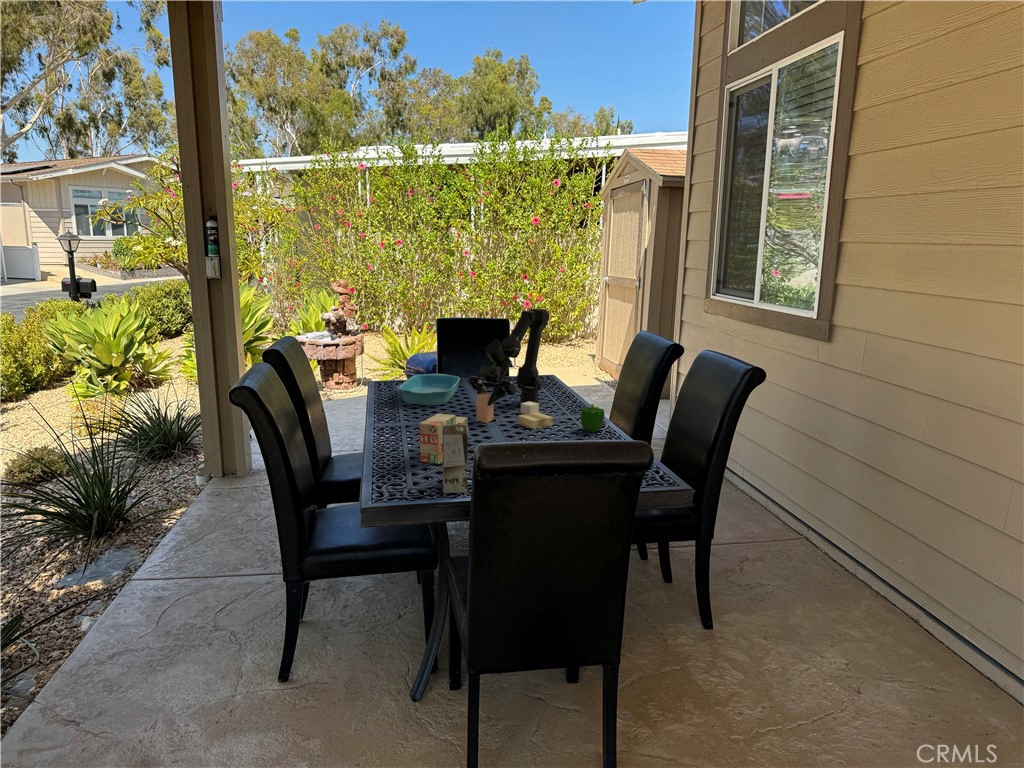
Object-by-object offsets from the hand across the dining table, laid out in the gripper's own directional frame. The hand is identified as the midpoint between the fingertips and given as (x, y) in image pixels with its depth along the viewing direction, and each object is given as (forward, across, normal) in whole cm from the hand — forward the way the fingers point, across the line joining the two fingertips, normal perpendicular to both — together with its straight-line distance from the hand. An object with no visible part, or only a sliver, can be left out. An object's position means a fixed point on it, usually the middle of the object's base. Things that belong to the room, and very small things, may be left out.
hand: (482, 404), depth 239 cm
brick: (-10, +8, +20) cm, 23 cm away
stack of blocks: (+31, +11, -22) cm, 40 cm away
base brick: (0, +18, +10) cm, 21 cm away
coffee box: (+47, +31, -37) cm, 68 cm away
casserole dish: (-9, -40, +19) cm, 46 cm away
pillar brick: (+4, 0, +6) cm, 7 cm away
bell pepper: (-4, +38, +14) cm, 41 cm away
